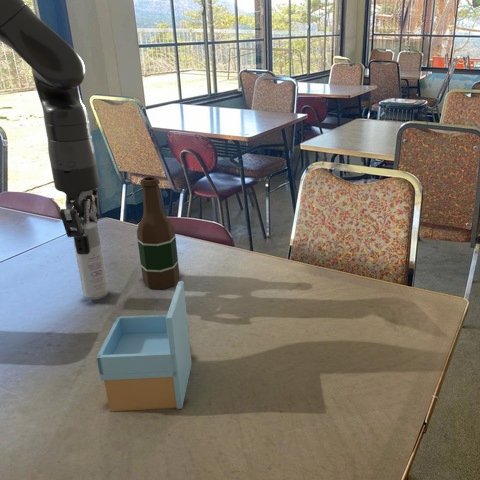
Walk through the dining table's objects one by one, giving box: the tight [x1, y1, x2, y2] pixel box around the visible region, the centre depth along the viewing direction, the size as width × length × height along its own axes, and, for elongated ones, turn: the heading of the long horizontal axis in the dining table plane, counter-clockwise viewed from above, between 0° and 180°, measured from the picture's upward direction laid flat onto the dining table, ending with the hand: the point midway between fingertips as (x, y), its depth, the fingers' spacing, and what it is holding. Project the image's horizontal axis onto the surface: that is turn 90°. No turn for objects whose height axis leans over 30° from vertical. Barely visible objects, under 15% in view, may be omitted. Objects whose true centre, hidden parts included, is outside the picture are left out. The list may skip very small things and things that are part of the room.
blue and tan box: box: [95, 280, 193, 412], centre depth 73 cm, size 11×11×16 cm
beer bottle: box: [136, 176, 180, 291], centre depth 103 cm, size 8×8×24 cm
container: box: [72, 222, 109, 300], centre depth 95 cm, size 5×5×15 cm
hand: (88, 247), depth 94 cm, fingers closed on container, 4 cm apart
